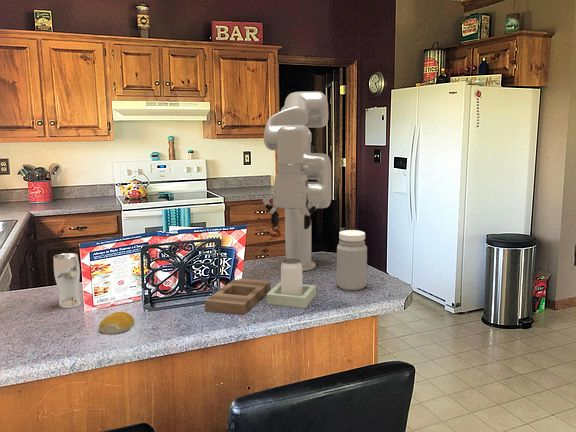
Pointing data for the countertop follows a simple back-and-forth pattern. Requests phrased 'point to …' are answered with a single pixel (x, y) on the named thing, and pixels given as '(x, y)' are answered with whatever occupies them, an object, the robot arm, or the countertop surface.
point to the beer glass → (67, 279)
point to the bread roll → (116, 323)
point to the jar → (351, 260)
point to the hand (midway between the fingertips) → (291, 227)
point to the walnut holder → (238, 296)
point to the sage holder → (291, 296)
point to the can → (291, 277)
